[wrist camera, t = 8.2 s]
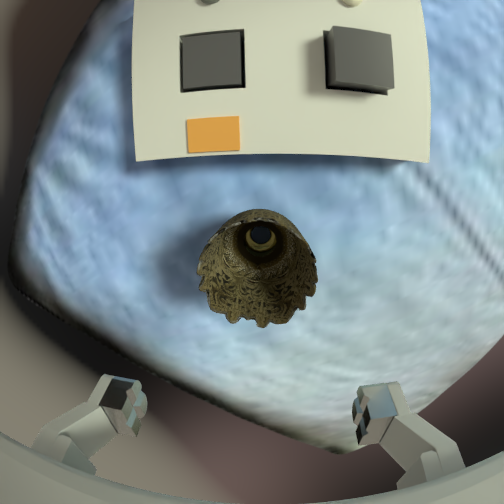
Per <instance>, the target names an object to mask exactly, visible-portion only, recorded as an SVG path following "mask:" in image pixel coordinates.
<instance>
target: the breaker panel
mask: <svg viewBox="0 0 504 504" xmlns="http://www.w3.org/2000/svg"><path fill="white" fill-rule="evenodd" d="M332 26H341V27H350V28H357V29H363V30H370V31H375V32H381V33H386V34H391V41H392V52H393V66H394V89H390V90H386V91H382V92H379V93H377V92H374V94H372V93H364V92H355V91H345V90H333V89H326V85H325V59H324V42H325V41H324V38H325V37H326V35H327V34H328V32H329V31H330V29H331V28H332ZM231 32H240V34H241V37H242V40H245V74H246V88H234V89H218V90H206V91H196V92H190V91H188V90H186V89H183V38H185V37H192V36H200V35H209V34H219V33H231ZM132 104H133V126H134V141H135V154H136V162H137V161H146V160H156V159H167V158H179V157H192V156H209V155H231V154H324V155H346V156H362V157H375V158H387V159H398V160H407V161H416V162H424V163H429V152H430V123H431V104H430V76H429V61H428V50H427V41H426V33H425V25H424V19H423V12H422V7H421V1H420V0H134V15H133V35H132Z"/></svg>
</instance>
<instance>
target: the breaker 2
mask: <svg viewBox="0 0 504 504" xmlns="http://www.w3.org/2000/svg"><path fill="white" fill-rule="evenodd" d="M324 41H325V59H326V85H327V87H328V88H341V89H352V90H361V91H370V92H377V93H379V92H382V91H386V90H390V89H394V66H393V52H392V41H391V34H386V33H381V32H375V31H370V30H363V29H357V28H350V27H341V26H332V28H331V29H330V31H329V32H328V34H327V35H326V37H325V38H324Z"/></svg>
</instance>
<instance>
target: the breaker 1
mask: <svg viewBox="0 0 504 504" xmlns="http://www.w3.org/2000/svg"><path fill="white" fill-rule="evenodd" d="M234 88H245V79H244V44H243V40H242V37H241V34H240V32H231V33H219V34H209V35H200V36H192V37H185V38H183V89H186V90H188V91H190V92H196V91H206V90H218V89H234Z"/></svg>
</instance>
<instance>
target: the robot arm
mask: <svg viewBox="0 0 504 504" xmlns="http://www.w3.org/2000/svg"><path fill="white" fill-rule="evenodd" d="M141 387H142V386H141V384H140V382H139V381H137V380H131V379H125V378H121V377H116V376H111V375H106V374H104V375H103V376H102V377H101V378H100V380H99V382H98V383H97V385H96V387H95V389H94V391H93V392H92V394H91V396H90V398H89V400H88V401H87V403H86V402H83V403H82V404H80V405H78V406H77V407H75V408H73V409H71V410H70V411H68V412H66V413H65V414H63V415H61V416H59V417H58V418H56V419H54V420H53V421H51V422H49V423H47V424H46V425H44V426H43V427H42V429H41V430H40V432H39V434H38V436H37V437H36V439H35V441H34V443H33V445H32V446H31V448H29V447H27V446H25V445H23V444H21V443H20V442H18V441H16V440H14V439H12V438H10V437H9V436H7V435H5V434H4V433H2V432H0V504H232V503H220V502H210V501H202V500H195V499H188V498H182V497H176V496H170V495H166V494H161V493H155V492H151V491H147V490H143V489H138V488H135V487H131V486H127V485H124V484H120V483H117V482H113V481H110V480H107V479H104V478H101V477H98V476H95V473H96V467H95V466H94V465H93V464H92V463H91V462H90V461H89V458H90V457H91V456H93V455H94V454H95V453H96V452H98V451H99V450H100V449H101V448H102V447H104V446H105V445H106V444H107V443H108V442H110V441H111V440H112V439H113V438H114V437H115V436H117V433H119V434H124V435H128V436H133V437H137V435H138V432H139V429H140V427H141V422H140V420H139V419H140V418H142V417H143V416H145V413H146V409H147V399H146V396H145V394H144V393H143V392H141ZM357 396H358V397H357V398H356V399H355V400H354V402H353V407H352V416H353V422H354V423H355V424H356V425H357V426H358V427H357V429H356V436H357V441H358V446H359V445H367V444H375V443H380V445H381V446H382V447H383V448H384V449H385V450H386V451H387V452H388V453H389V454H390V455H391V456H392V457H393V459H394V460H395V461H397V463H398V464H399V465H400V466H401V467H402V468H403V469H404V470H405V471H406V473H405V474H404V475H403V477H402V478H401V479H400V480H399V481H398V482H397V488H398V490H395V491H391V492H386V493H382V494H377V495H372V496H366V497H360V498H354V499H347V500H341V501H332V502H322V503H310V504H504V451H502V452H500V453H498V454H496V455H494V456H492V457H490V458H488V459H486V460H484V461H481V462H479V463H477V464H474V465H472V466H470V467H467V468H465V465H464V463H463V460H462V457H461V455H460V452H459V450H458V447H457V445H456V442H454V441H453V440H451V439H450V438H449V437H447V436H446V435H445V434H443V433H442V432H440V431H439V430H438V429H436V428H435V427H433V426H432V425H431V424H429V423H428V422H426V421H425V420H424V419H422V418H421V417H420V416H418V415H417V414H416V413H411V412H410V409H409V407H408V404H407V401H406V399H405V396H404V394H403V391H402V389H401V386H400V384H399V383H398V382H389V383H380V384H372V385H364V386H360V387H359V388H358V390H357Z"/></svg>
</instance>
